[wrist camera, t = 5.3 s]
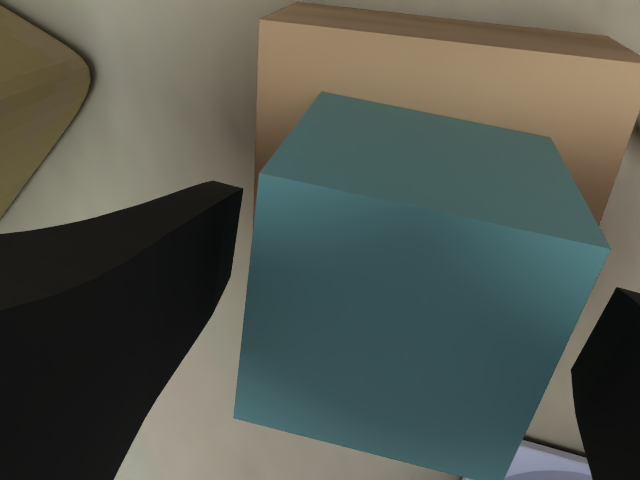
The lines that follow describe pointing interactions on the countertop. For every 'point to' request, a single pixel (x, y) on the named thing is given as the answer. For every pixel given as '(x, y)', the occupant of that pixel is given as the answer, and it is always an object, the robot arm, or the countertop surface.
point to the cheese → (33, 99)
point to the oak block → (454, 80)
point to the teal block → (412, 284)
